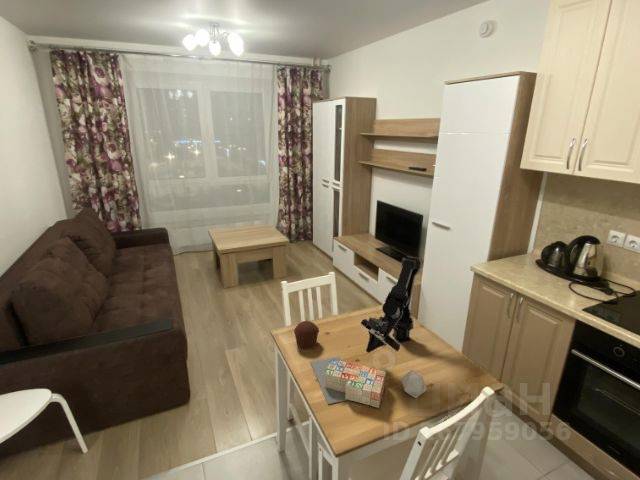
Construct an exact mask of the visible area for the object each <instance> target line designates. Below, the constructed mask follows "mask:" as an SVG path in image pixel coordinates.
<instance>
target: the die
mask: <svg viewBox="0 0 640 480" xmlns="http://www.w3.org/2000/svg"><path fill="white" fill-rule="evenodd" d="M400 379H401V383H402V385H403V389H404V392H405V393H407V394H408V395H409V396H411V397H412V398H415V399H417V398H418V397H420V396H421V395H422V394H423V393H424V392H426V391H427V390H428V389H427V386H426V383H425V380H424V377H423V376H422V375H420V374H419V373H417V372H415V371H414V370H413V369H411V370H410V371H408V372H407V373H406V374H405V375H403V376H402V377H400Z"/></svg>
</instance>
